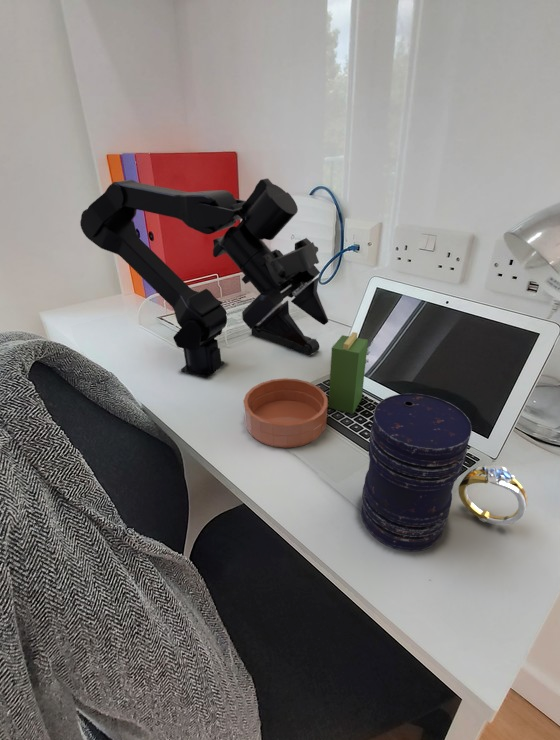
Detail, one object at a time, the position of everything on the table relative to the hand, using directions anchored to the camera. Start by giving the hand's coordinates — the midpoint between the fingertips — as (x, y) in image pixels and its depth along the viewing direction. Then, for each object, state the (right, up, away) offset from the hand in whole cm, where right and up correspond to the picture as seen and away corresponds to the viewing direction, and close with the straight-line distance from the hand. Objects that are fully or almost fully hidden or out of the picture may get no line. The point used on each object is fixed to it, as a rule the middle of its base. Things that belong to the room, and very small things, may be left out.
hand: (316, 333), depth 68 cm
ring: (+18, -25, -18) cm, 36 cm away
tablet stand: (-5, +1, +25) cm, 25 cm away
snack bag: (+5, -12, +4) cm, 14 cm away
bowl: (-5, -15, 0) cm, 15 cm away
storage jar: (+9, -25, -17) cm, 31 cm away
